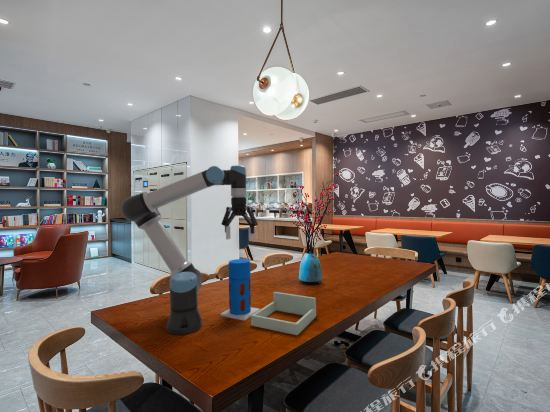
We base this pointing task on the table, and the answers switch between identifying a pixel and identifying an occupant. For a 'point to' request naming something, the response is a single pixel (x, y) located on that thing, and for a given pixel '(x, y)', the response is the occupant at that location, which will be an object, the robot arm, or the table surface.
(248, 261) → the thermos
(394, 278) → the table surface
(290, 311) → the frame
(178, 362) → the table surface
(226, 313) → the tile
